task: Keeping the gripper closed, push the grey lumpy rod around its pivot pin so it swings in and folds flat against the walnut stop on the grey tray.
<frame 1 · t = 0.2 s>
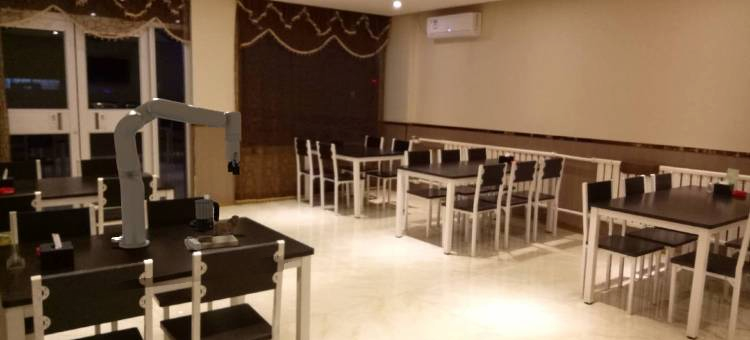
hand: (233, 173, 271), 31 cm above the table, tool pointing down, fingers open, 9 cm apart
grey tray: (211, 244, 260), on the table
milk frother: (201, 228, 291), on the table
grey lumpy rod: (193, 243, 247), point 4 cm above the table, hinge at -80.0°
lion figurine: (226, 234, 279), on the table
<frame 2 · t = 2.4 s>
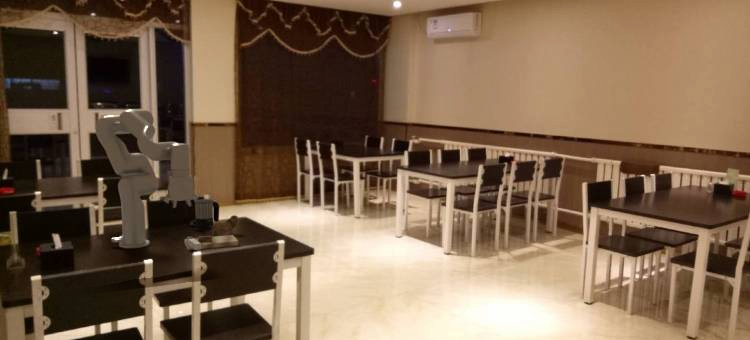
hand: (181, 215, 239), 17 cm above the table, tool pointing down, fingers open, 4 cm apart
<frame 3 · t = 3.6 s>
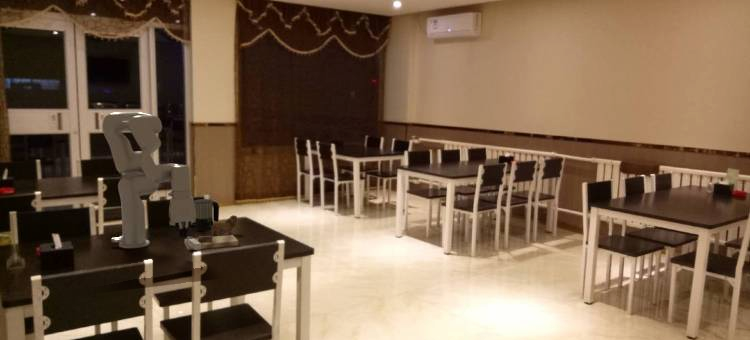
hand: (183, 237, 240), 8 cm above the table, tool pointing down, fingers closed
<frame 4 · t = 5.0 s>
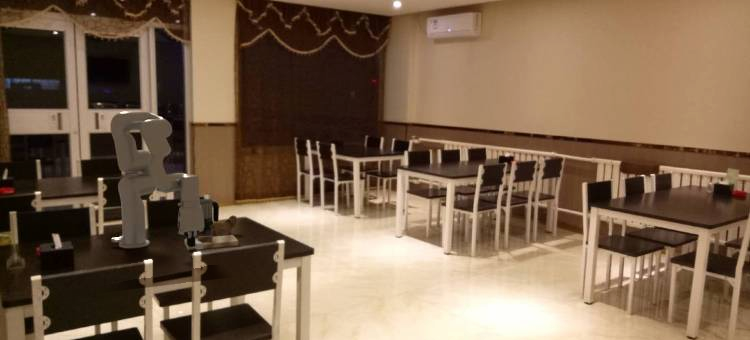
hand: (191, 246, 243), 4 cm above the table, tool pointing down, fingers closed
grey lumpy rod: (194, 242, 247), point 4 cm above the table, hinge at -76.3°, touching gripper
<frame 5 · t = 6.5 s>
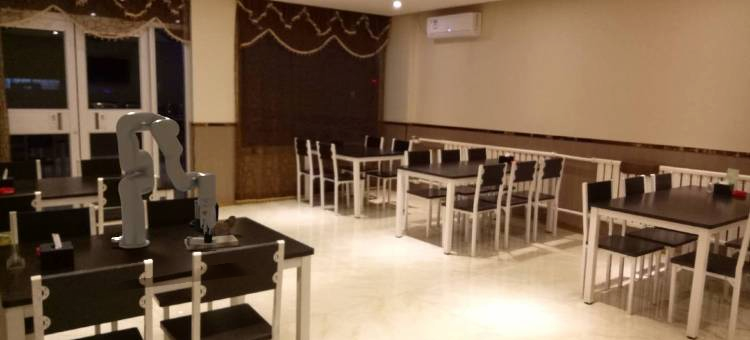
hand: (208, 242, 248), 4 cm above the table, tool pointing down, fingers closed
grey lumpy rod: (201, 240, 251), point 4 cm above the table, hinge at -27.2°, touching gripper
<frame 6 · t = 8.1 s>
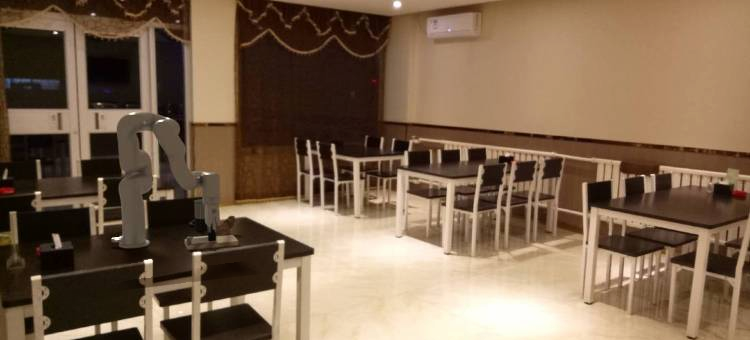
hand: (212, 240, 252), 4 cm above the table, tool pointing down, fingers closed
grey lumpy rod: (201, 239, 254), point 4 cm above the table, hinge at 1.0°
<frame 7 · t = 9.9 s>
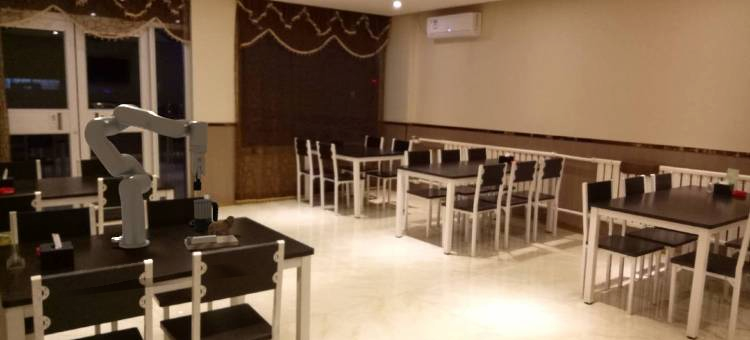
hand: (197, 190, 252), 26 cm above the table, tool pointing down, fingers closed
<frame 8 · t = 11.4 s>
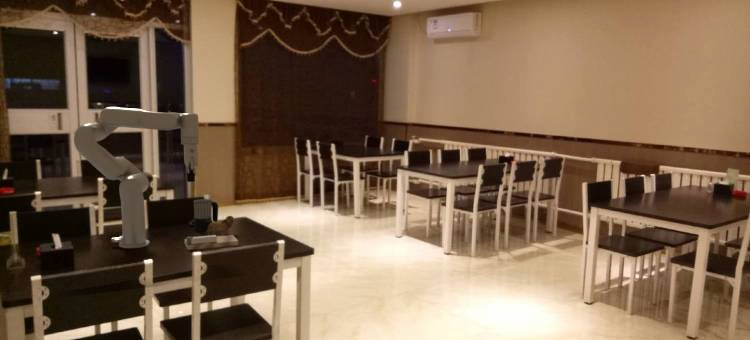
hand: (190, 181, 255), 29 cm above the table, tool pointing down, fingers closed
at the end: grey lumpy rod at +1° (first picture: -80°); lion figurine moved 3.0 cm from its start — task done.
